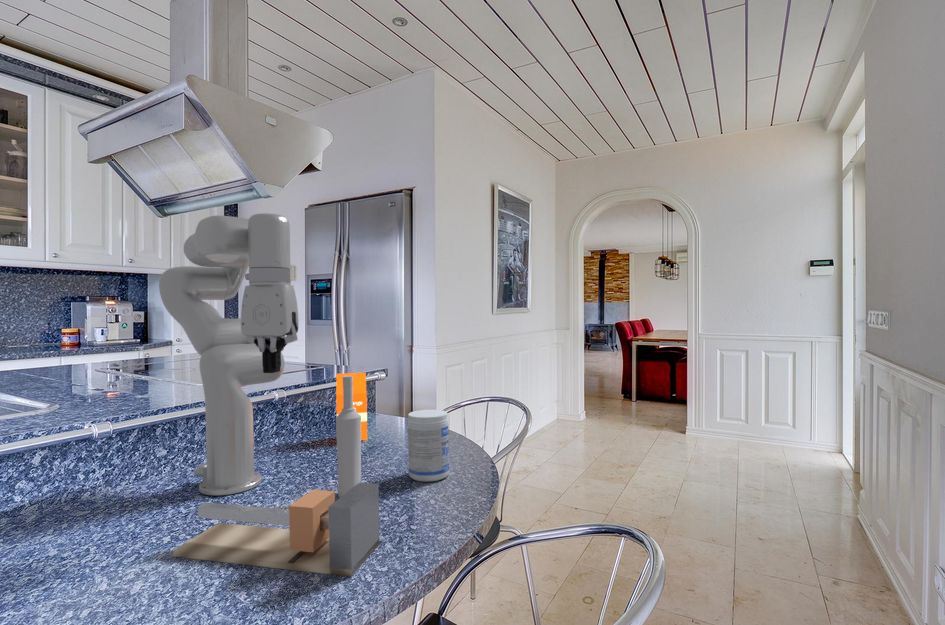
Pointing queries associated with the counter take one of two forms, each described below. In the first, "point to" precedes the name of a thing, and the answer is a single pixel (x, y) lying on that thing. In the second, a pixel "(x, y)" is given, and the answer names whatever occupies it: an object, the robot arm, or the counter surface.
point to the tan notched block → (309, 520)
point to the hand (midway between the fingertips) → (271, 372)
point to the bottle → (348, 441)
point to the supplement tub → (428, 445)
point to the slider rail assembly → (323, 523)
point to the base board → (256, 549)
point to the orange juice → (354, 398)
